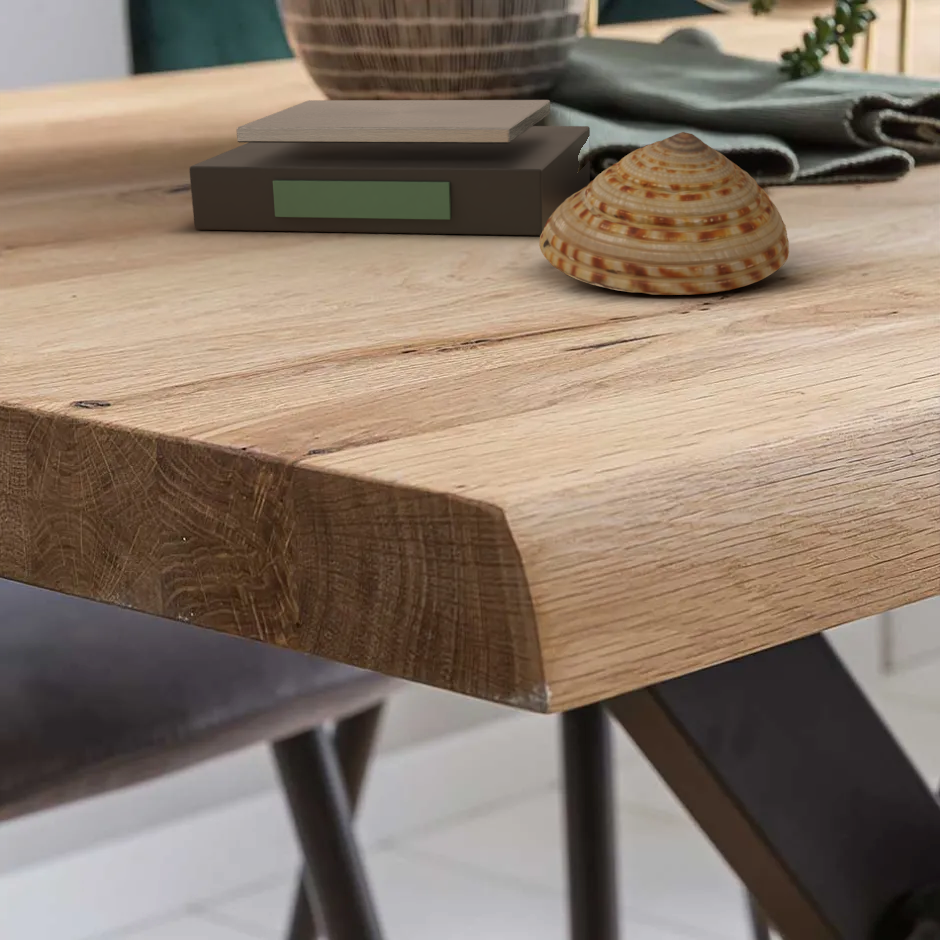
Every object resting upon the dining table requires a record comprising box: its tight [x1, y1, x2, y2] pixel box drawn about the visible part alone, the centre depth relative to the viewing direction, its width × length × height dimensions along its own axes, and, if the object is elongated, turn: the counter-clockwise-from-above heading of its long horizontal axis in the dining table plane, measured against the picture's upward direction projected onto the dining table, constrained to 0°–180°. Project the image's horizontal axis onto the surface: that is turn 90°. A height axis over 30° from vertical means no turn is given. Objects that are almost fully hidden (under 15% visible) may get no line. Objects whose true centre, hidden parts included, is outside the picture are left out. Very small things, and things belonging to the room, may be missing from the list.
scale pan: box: [236, 99, 551, 144], centre depth 65 cm, size 11×9×1 cm
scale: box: [188, 125, 591, 236], centre depth 66 cm, size 14×12×2 cm
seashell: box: [538, 131, 790, 296], centre depth 53 cm, size 8×6×8 cm
